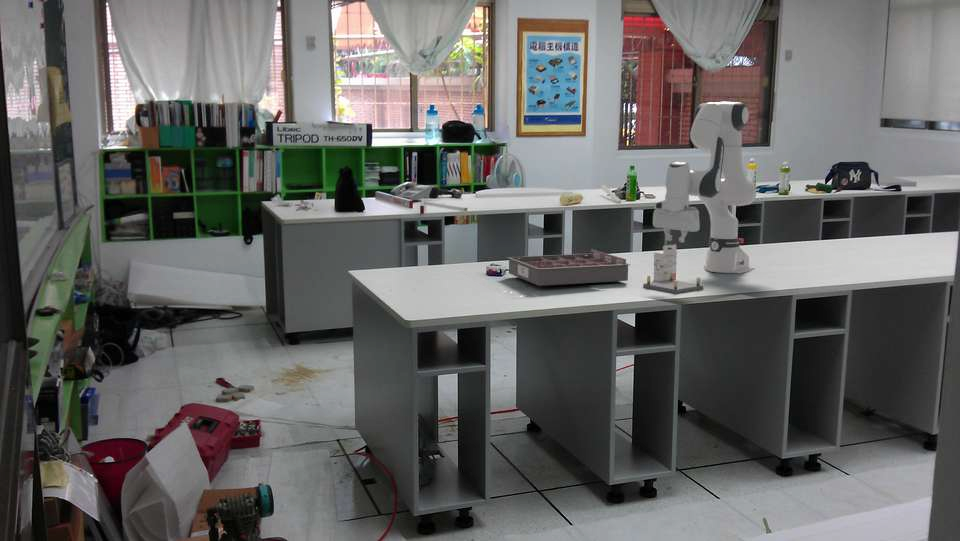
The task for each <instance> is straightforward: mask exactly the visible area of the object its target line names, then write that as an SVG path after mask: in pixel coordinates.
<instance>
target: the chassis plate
mask: <svg viewBox="0 0 960 541" xmlns="http://www.w3.org/2000/svg"><path fill="white" fill-rule="evenodd" d="M646 277H647V278H646V283H643V284H642V287H643V288H644V289H650V290H655V291H660V292H665V293H670V294H676V295H678V294H681V293H689V292H694V291H700V290H704V285H703V284H701V277H700V276H699V277H698V276H697V277H696V283H692V282H686V281H681V280H677V279H676V280H673V273H670V280H665V281H653V282H652V281H651V275H647V276H646Z"/></svg>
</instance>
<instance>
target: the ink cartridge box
mask: <svg viewBox="0 0 960 541" xmlns="http://www.w3.org/2000/svg"><path fill="white" fill-rule="evenodd" d="M669 248H670V249H669ZM677 254H678V252H677V244H668V245H663V246H662V250H661V251H655V252H653V255H654V256H653V282H658V281H665V280H670V273H673V280H676V281H677V278H676V277H677V259H678V258H677V257H678V256H677Z"/></svg>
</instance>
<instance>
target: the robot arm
mask: <svg viewBox="0 0 960 541" xmlns="http://www.w3.org/2000/svg"><path fill="white" fill-rule="evenodd" d="M749 116H750V111H749V107H748V106H747V104H746V103H744V102H740V101H736V102H734V101H719V102H718V101H717V102H712V101H711V102H704V103H701V104H698V106H697V107H695V109H694V113H693V123H692V126H691V129H690V133H689V134H690V135H689V136H690V137H689V138H690V140H691V142H692V144H693V146H695V147H696V148H697V149H699V150H700V151H704V152H706V153H708V154H710V159H709V167H708V169H706V170H691V169H690V164H689V163H688V162H686V161H674V162H671V163H669V164H668V165H667V170H666V175H665V189H666V190H665V191H666V192H665V195H664V196H665V197H664V200H661V201H657V202H655V203H654V205H653V207H654V210H653V213H652V214H653V215H652V225H653V227H654V228H656V229H657V228H658V229H663V232H664V234H665V240H666V241H668V242H671V241H673V235H671V233H670V232H671V230H674V231H680V237H678V239H677V240H678V243H685V238H686V236H687V235H688V232H692V233H696V232H698V231H699V230H700V227H701V226H700V211H699V209H698V208H697V207H696V206H689V205H690V197H691V196H692V197H698V198H699V200H700V201H701V202H702V204H704V205H705V207H706V209H707V212H708V214H709V220H710V236H709V238H708V239H709V240H708V246H709V248H708V249H707V253H706V259H705V265H703V269H704V270H705V271H708V272H712V273H713V272H714V273H720V274H723V273H724V274H743V273H747V272H749V271H753V270H755V267H754V266H750V256H749V255H748V253H746V252H745V251H744V250H743V248H741V247H740V246H741V245H740V244H744V238H738V231H739V220H738V217H736V216H735V215H733V214H732V213H731V212H730V209H729V206H734V207H741V206H742V207H743V206H748V205H751V204H752V203H753V202H754V201H755V200H756V196H757V189H756V186H755V184H754V183H753V182H752V181H751V180H750V179H749V178H748V177H747V174H746V172H745V170H744V167H743V161H742V155H743V154H742V149H743V148H742V147H743V146H742V145H743V144H742V143H743V138H742V137H743V136H742V135H743V134H742V129H743V128H745V126H746V125H747V124H748V122H749ZM722 174H723V176H724V178H722Z"/></svg>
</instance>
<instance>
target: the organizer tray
mask: <svg viewBox="0 0 960 541" xmlns="http://www.w3.org/2000/svg"><path fill="white" fill-rule="evenodd" d="M506 259H508V274H510V275H512V276H514V277H517V278H519V279H522V280H523V281H526V282H529V283H531V284H534V285H536V286H538V287H539V286H540V287H541V286H543V287H544V286H557V285H559V286H560V285H576V284H590V283H593V284H595V283H610V282H612V283H613V282H626V281H627V282H628V280H629V266H631V264H630V263H627V259H626V258H622V257H619V256H616V255H613V254H610V253H609V254H608V253H606V252H602V251H598V250H596V249H591V250H590V253H574V254H573V253H571V254H570V253H569V254H553V255H550V254H549V255H527V256H510V257H509V256H508V257H506Z"/></svg>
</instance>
